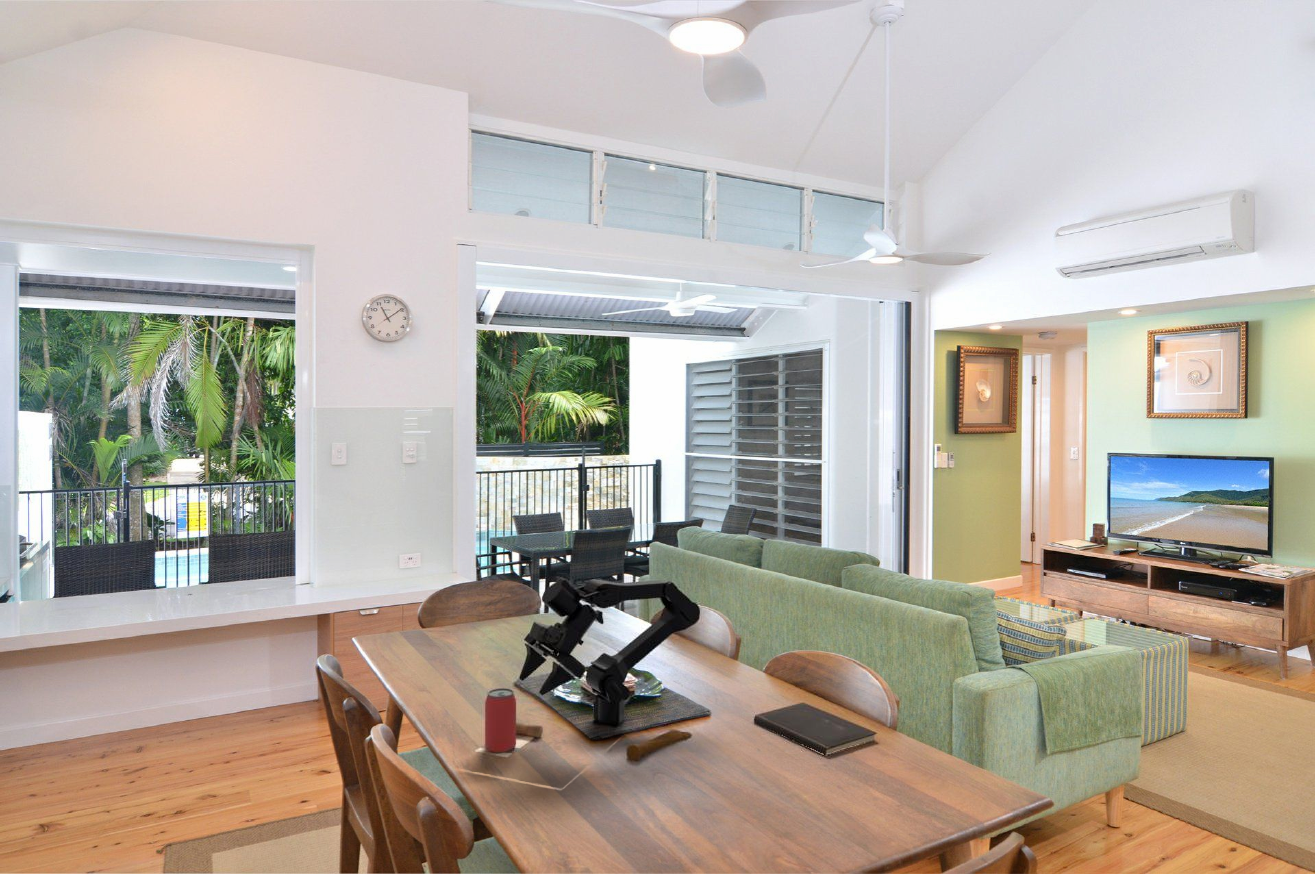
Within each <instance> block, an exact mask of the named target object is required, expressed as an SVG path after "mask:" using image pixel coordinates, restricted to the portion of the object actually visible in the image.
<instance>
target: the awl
mask: <svg viewBox="0 0 1315 874" xmlns="http://www.w3.org/2000/svg"><path fill="white" fill-rule="evenodd" d="M516 734H521V735H527V736H533V737H535V738H541V737H542V736H543V734H544V729H543V726H542V725H538V724H537V725H535V724H530V723H524V722H519V721H516Z"/></svg>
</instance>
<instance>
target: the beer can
mask: <svg viewBox="0 0 1315 874" xmlns="http://www.w3.org/2000/svg"><path fill="white" fill-rule="evenodd" d="M484 715H485V716H484V745H485V748H486V749H487V750H488V751H490V752H494V753H503V752H508V751H510V750H512V749H513V748H514V747H515V746H516V723H517V699H516V696H515V692H514V690H513V689H512V688H506V687H505V688H504V687H498V688H493V689H491V690H488V692H487V696H486V699H485V702H484Z"/></svg>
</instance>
